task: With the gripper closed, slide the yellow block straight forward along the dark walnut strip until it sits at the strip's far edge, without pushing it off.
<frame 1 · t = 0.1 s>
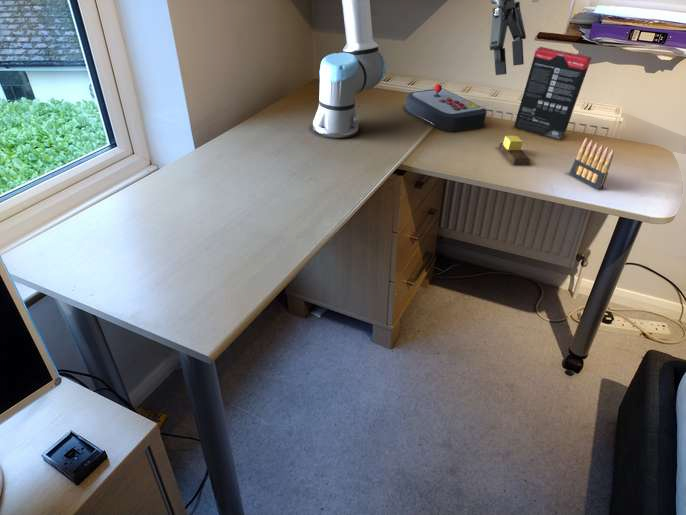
hand: (510, 69, 141), 28 cm above the table, tool tilted 20°, fingers open, 13 cm apart
walnut strip: (513, 156, 161), on the table
arcade joystick: (441, 117, 187), on the table
graphics card box: (538, 132, 180), on the table
ammunition clip: (585, 181, 150), on the table
yellow block: (511, 147, 162), point 2 cm above the table, touching walnut strip
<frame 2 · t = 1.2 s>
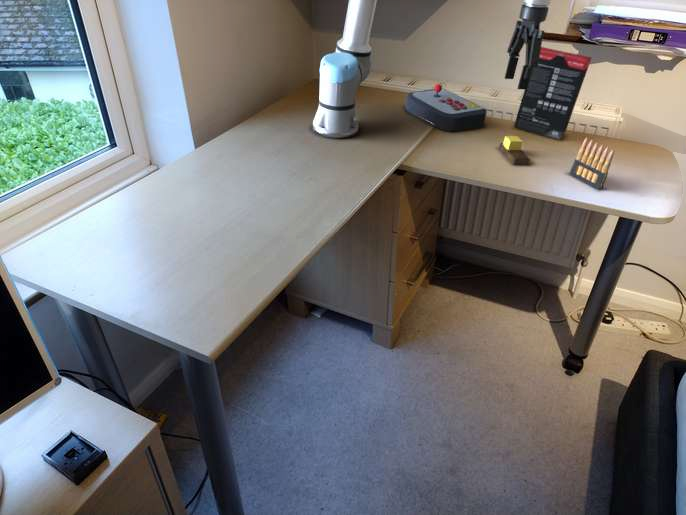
hand: (515, 83, 159), 20 cm above the table, tool pointing down, fingers open, 9 cm apart
nothing on the table moved.
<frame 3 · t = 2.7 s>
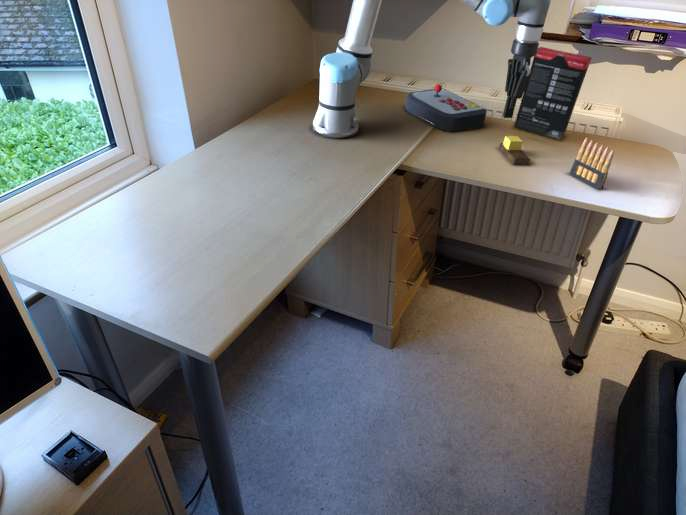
hand: (507, 117, 165), 9 cm above the table, tool pointing down, fingers closed
nothing on the table moved.
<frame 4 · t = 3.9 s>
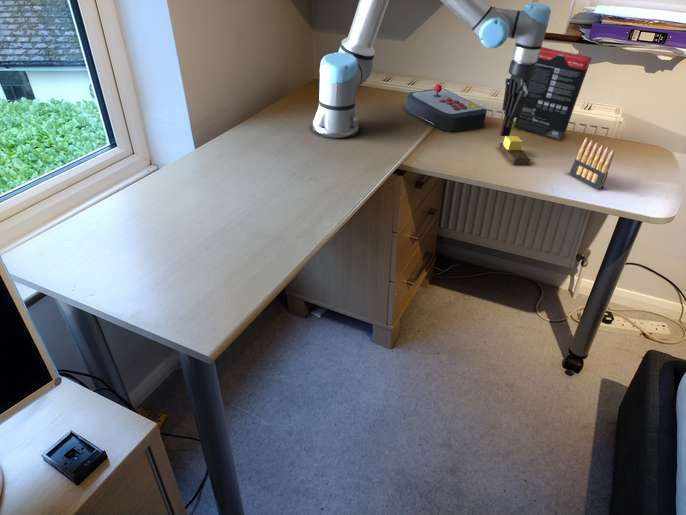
hand: (504, 135, 167), 3 cm above the table, tool pointing down, fingers closed
nothing on the table moved.
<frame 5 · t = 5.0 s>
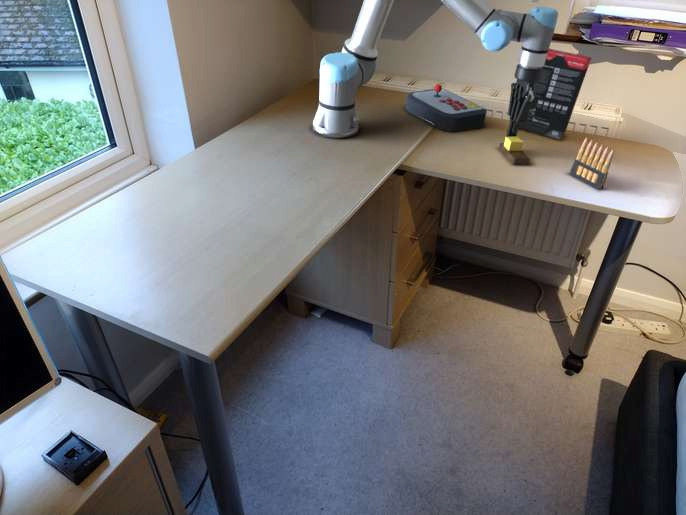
hand: (509, 140, 163), 3 cm above the table, tool pointing down, fingers closed
yellow block: (512, 148, 162), point 2 cm above the table, touching gripper
everything else where it was.
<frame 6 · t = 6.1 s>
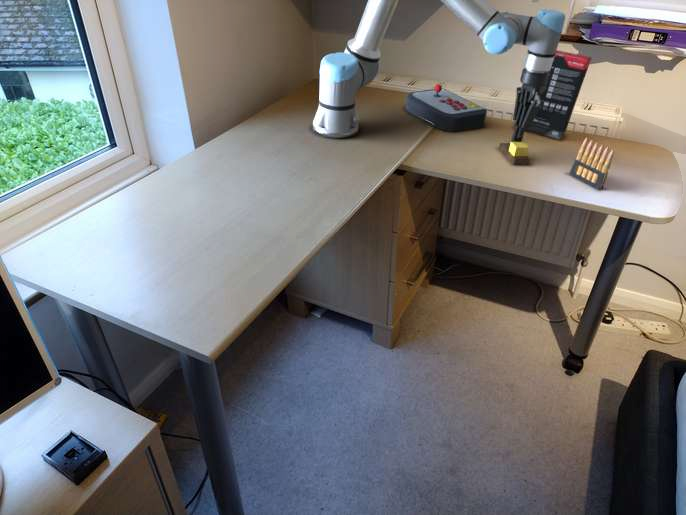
hand: (515, 145, 160), 3 cm above the table, tool pointing down, fingers closed
yellow block: (517, 153, 159), point 2 cm above the table, touching gripper, walnut strip
everything else where it was.
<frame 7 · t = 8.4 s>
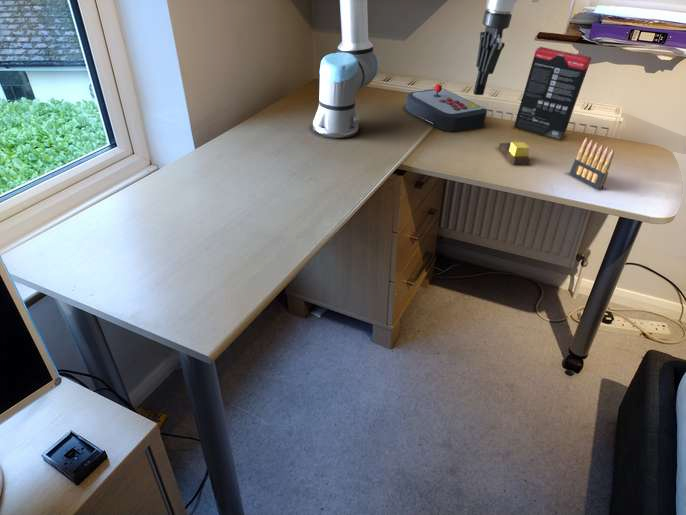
hand: (478, 94, 157), 17 cm above the table, tool pointing down, fingers closed
yellow block: (517, 153, 159), point 2 cm above the table, touching walnut strip
everything else where it was.
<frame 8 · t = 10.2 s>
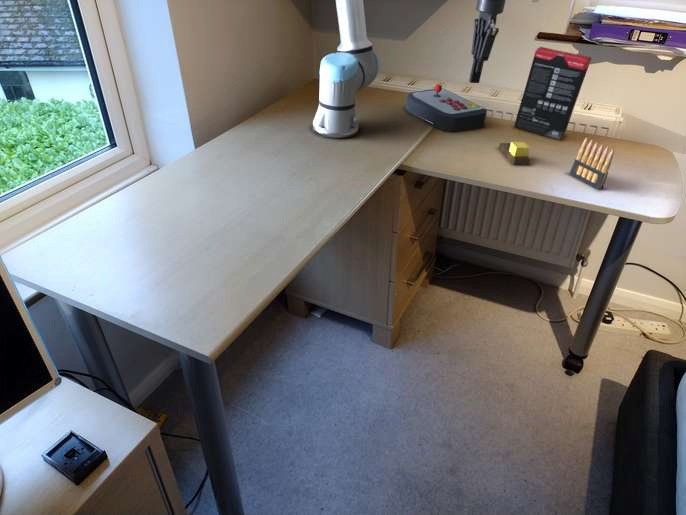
hand: (474, 82, 154), 20 cm above the table, tool pointing down, fingers closed
nothing on the table moved.
at the end: yellow block 1.4 cm from the target spot, point 2.0 cm above the table; yellow block moved 4.7 cm from its start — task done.
